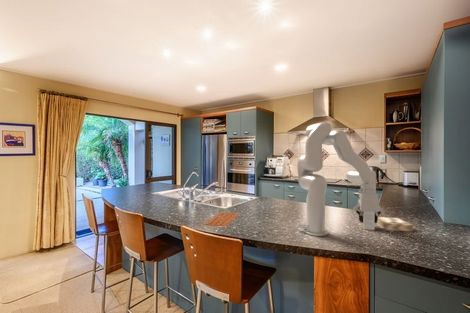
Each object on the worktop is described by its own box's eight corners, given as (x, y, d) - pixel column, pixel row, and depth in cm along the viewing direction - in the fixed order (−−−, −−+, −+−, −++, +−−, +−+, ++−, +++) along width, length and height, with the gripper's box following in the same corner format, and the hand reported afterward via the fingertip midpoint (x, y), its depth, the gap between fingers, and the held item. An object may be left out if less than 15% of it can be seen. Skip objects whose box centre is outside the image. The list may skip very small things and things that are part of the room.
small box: (362, 225, 134) (362, 207, 134) (372, 226, 131) (372, 208, 131) (363, 229, 126) (363, 210, 126) (374, 230, 124) (374, 211, 124)
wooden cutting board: (239, 215, 158) (239, 213, 158) (226, 228, 129) (226, 225, 129) (220, 213, 162) (220, 211, 162) (203, 226, 133) (203, 223, 133)
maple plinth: (385, 230, 125) (385, 223, 125) (374, 222, 138) (374, 216, 138) (413, 231, 123) (413, 224, 123) (398, 223, 136) (398, 217, 136)
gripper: (354, 192, 126) (354, 223, 126) (387, 193, 124) (387, 225, 124) (349, 190, 134) (349, 219, 134) (381, 191, 131) (381, 221, 131)
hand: (368, 222), depth 129 cm, fingers closed on small box, 6 cm apart
